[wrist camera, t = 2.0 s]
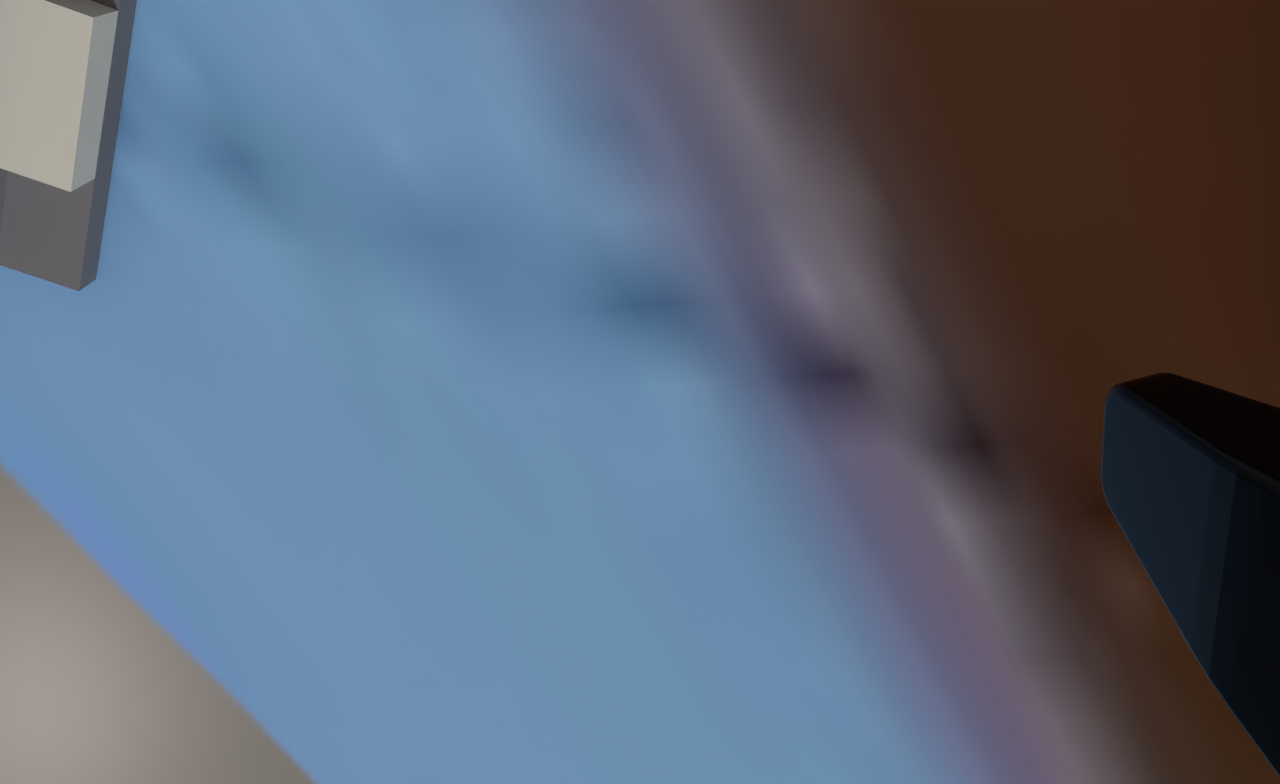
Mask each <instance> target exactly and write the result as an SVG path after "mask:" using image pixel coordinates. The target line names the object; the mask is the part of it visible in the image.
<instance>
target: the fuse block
mask: <svg viewBox="0 0 1280 784" xmlns="http://www.w3.org/2000/svg"><path fill="white" fill-rule="evenodd" d="M135 7H136V0H0V265H1V266H5V267H8V268H11V269H14V270H17V271H20V272H23V273H26V274H29V275H32V276H35V277H38V278H41V279H44V280H47V281H50V282H53V283H56V284H59V285H62V286H65V287H68V288H71V289H74V290H77V291H80V290H81V289H83V288H84V287H85V286H87V285H88V284H89V283H91V282H92V281H94V280H95V279H96V273H97V266H98V260H99V253H100V246H101V239H102V232H103V225H104V219H105V212H106V205H107V198H108V191H109V185H110V178H111V171H112V164H113V157H114V150H115V144H116V137H117V130H118V123H119V116H120V110H121V103H122V96H123V89H124V82H125V75H126V69H127V62H128V55H129V48H130V41H131V34H132V28H133V21H134V14H135Z"/></svg>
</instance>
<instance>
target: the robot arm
mask: <svg viewBox="0 0 1280 784" xmlns="http://www.w3.org/2000/svg"><path fill="white" fill-rule="evenodd" d="M1101 481H1102V488H1103V491H1104V495H1105V498H1106V501H1107V503H1108V505H1109V507H1110V509H1111V511H1112V513H1113V515H1114V516H1115V518H1116V520H1117V522H1118V523H1119V525H1120V527H1121V529H1122V530H1123V532H1124V534H1125V536H1126V537H1127V539H1128V541H1129V543H1130V544H1131V546H1132V548H1133V550H1134V551H1135V553H1136V555H1137V557H1138V558H1139V560H1140V562H1141V564H1142V565H1143V567H1144V569H1145V571H1146V572H1147V574H1148V576H1149V577H1150V579H1151V581H1152V583H1153V584H1154V586H1155V588H1156V590H1157V591H1158V593H1159V595H1160V597H1161V598H1162V600H1163V602H1164V604H1165V605H1166V607H1167V609H1168V611H1169V612H1170V614H1171V616H1172V618H1173V619H1174V621H1175V623H1176V625H1177V626H1178V628H1179V630H1180V632H1181V633H1182V635H1183V637H1184V639H1185V640H1186V642H1187V644H1188V646H1189V647H1190V649H1191V651H1192V652H1193V654H1194V656H1195V657H1196V659H1197V661H1198V662H1199V664H1200V665H1201V667H1202V669H1203V670H1204V672H1205V674H1206V675H1207V677H1208V678H1209V680H1210V681H1211V683H1212V684H1213V686H1214V687H1215V689H1216V690H1217V691H1218V693H1219V694H1220V696H1221V697H1222V699H1223V700H1224V702H1225V703H1226V704H1227V706H1228V707H1229V709H1230V710H1231V711H1232V713H1233V714H1234V715H1235V717H1236V718H1237V720H1238V721H1239V722H1240V724H1241V725H1242V726H1243V728H1244V729H1245V731H1246V732H1247V733H1248V735H1249V736H1250V737H1251V739H1252V740H1253V741H1254V743H1255V744H1256V746H1257V747H1258V748H1259V750H1260V751H1261V752H1262V754H1263V755H1264V757H1265V758H1266V759H1267V761H1268V762H1269V763H1270V765H1271V766H1272V767H1273V769H1274V770H1275V772H1276V773H1277V774H1278V776H1279V777H1280V408H1278V407H1275V406H1272V405H1268V404H1265V403H1262V402H1259V401H1256V400H1253V399H1250V398H1247V397H1244V396H1240V395H1237V394H1234V393H1231V392H1228V391H1225V390H1222V389H1219V388H1215V387H1212V386H1209V385H1206V384H1203V383H1200V382H1197V381H1194V380H1191V379H1187V378H1184V377H1181V376H1178V375H1175V374H1171V373H1159V374H1154V375H1150V376H1146V377H1142V378H1138V379H1134V380H1131V381H1127V382H1123V383H1119V384H1117V385H1115V386H1114V387H1113V388H1112V389H1111V390H1110V391H1109V392H1108V395H1107V397H1106V401H1105V407H1104V424H1103V443H1102V461H1101Z"/></svg>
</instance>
